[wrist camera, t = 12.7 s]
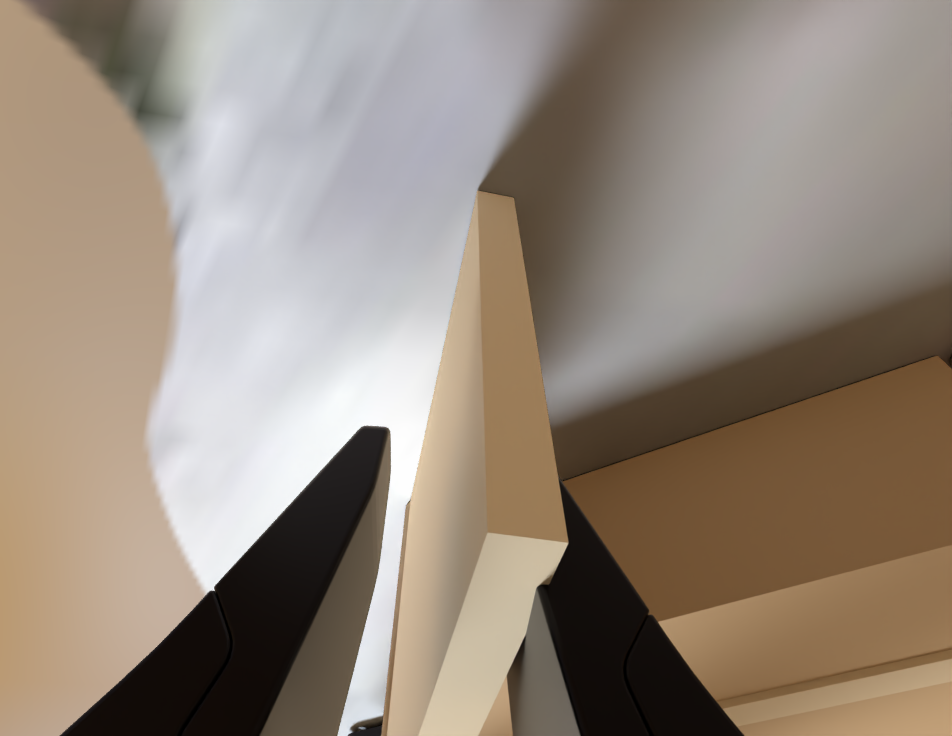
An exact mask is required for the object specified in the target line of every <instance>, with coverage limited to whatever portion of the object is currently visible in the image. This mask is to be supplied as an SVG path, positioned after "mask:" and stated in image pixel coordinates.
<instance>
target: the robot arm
mask: <svg viewBox="0 0 952 736" xmlns="http://www.w3.org/2000/svg"><path fill="white" fill-rule="evenodd" d="M390 473H391V441H390V430H389V429H388V428H387V427H379V426H363V427H361V428H360V429H359V430H358V431H357V432H356V433H355V434H354V435H353V436H352V438H351V439H350V440H349V441H348V442H347V443H346V444H345V445H344V446H343V447H342V448H341V449H340V451H339V452H338V453H337V454H336V455H335V456H334V457H333V458H332V459H331V460H330V461H329V463H328V464H327V465H326V466H325V467H324V468H323V469H322V470H321V471H320V472H319V473H318V474H317V476H316V477H315V478H314V479H313V480H312V481H311V482H310V483H309V484H308V485H307V486H306V488H305V489H304V490H303V491H302V492H301V493H300V494H299V495H298V496H297V497H296V498H295V499H294V501H293V502H292V503H291V504H290V505H289V506H288V507H287V508H286V509H285V510H284V511H283V513H282V514H281V515H280V516H279V517H278V518H277V519H276V520H275V521H274V522H273V523H272V524H271V526H270V527H269V528H268V529H267V530H266V531H265V532H264V533H263V534H262V535H261V536H260V537H259V539H258V540H257V541H256V542H255V543H254V544H253V545H252V546H251V547H250V548H249V549H248V551H247V552H246V553H245V554H244V555H243V556H242V557H241V558H240V559H239V560H238V561H237V562H236V564H235V565H234V566H233V567H232V568H231V569H230V570H229V571H228V572H227V573H226V574H225V575H224V577H223V578H222V579H221V580H220V581H219V582H218V583H217V584H216V585H215V587H214V589H215V591H209V592H208V593H207V595H206V596H205V597H204V598H203V599H202V600H201V601H200V602H199V604H198V605H197V606H196V607H195V608H194V609H193V610H192V611H191V612H190V613H189V614H188V615H187V616H186V617H185V618H184V619H183V620H182V621H181V623H179V625H178V626H177V627H176V628H175V629H174V630H173V631H172V632H171V633H170V634H169V635H168V636H167V637H166V638H165V639H164V640H163V641H162V642H161V643H160V644H159V645H158V646H157V647H156V648H155V649H154V650H153V651H152V652H151V653H150V654H149V655H148V656H146V657H145V658H144V659H143V660H142V661H141V662H140V663H139V664H138V665H137V666H136V667H135V668H134V669H133V670H132V671H131V672H129V673H128V674H127V675H126V676H125V677H124V678H123V679H122V680H121V681H120V682H119V683H118V684H117V685H116V686H114V687H113V688H112V689H111V690H110V691H109V692H108V693H107V694H106V695H104V696H103V697H102V698H101V699H100V700H99V701H98V702H97V703H95V704H94V705H93V706H92V707H91V708H90V709H89V710H88V711H87V712H86V713H84V714H83V715H82V716H81V717H80V718H79V719H78V720H77V721H76V722H74V723H73V724H72V725H71V726H70V727H69V728H68V729H67V730H65V731H64V732H63V733H62V734H61V735H60V736H337V734H338V730H339V726H340V722H341V718H342V714H343V710H344V706H345V702H346V699H347V695H348V691H349V687H350V683H351V679H352V675H353V671H354V667H355V663H356V659H357V655H358V651H359V647H360V643H361V639H362V635H363V631H364V627H365V623H366V619H367V615H368V611H369V608H370V604H371V600H372V596H373V592H374V588H375V583H376V579H377V574H378V569H379V563H380V556H381V548H382V540H383V532H384V524H385V516H386V508H387V500H388V491H389V483H390ZM558 479H559V486H560V492H561V498H562V505H563V511H564V517H565V524H566V530H567V536H568V542H569V543H568V545H567V547H566V549H565V552H564V554H563V556H562V558H561V560H560V562H559V564H558V566H557V569H556V571H555V573H554V575H553V577H552V579H551V581H550V584H549V585H548V584H542V585H539V586H538V587H537V588H536V592H535V596H534V600H533V605H532V609H531V614H530V618H529V622H528V627H527V631H526V635H525V637H524V639H523V641H522V643H521V645H520V648H519V650H518V652H517V654H516V656H515V658H514V660H513V663H512V665H511V667H510V669H509V671H508V673H507V675H506V676H507V685H508V694H509V704H510V713H511V722H512V732H513V736H745V735H744V734H743V733H742V732H741V731H740V729H739V728H738V727H737V726H736V725H735V723H734V722H733V721H732V720H731V719H730V717H729V716H728V715H727V714H726V713H725V711H724V710H723V709H722V708H721V706H720V705H719V704H718V703H717V701H716V700H715V699H714V698H713V696H712V695H711V694H710V693H709V691H708V690H707V689H706V688H705V686H704V685H703V684H702V683H701V681H700V680H699V679H698V678H697V676H696V675H695V674H694V673H693V671H692V670H691V668H690V667H689V666H688V664H687V663H686V661H685V660H684V659H683V657H682V656H681V654H680V653H679V652H678V650H677V649H676V647H675V646H674V645H673V643H672V642H671V641H670V639H669V638H668V636H667V635H666V633H665V632H664V630H663V629H662V627H661V626H660V624H659V623H658V621H657V620H656V618H655V617H654V616H653V615H652V614H650V615H648V614H649V609H648V607H647V606H646V604H645V603H644V601H643V600H642V598H641V597H640V595H639V594H638V592H637V591H636V589H635V588H634V586H633V585H632V584H631V582H630V581H629V579H628V578H627V576H626V575H625V573H624V572H623V570H622V569H621V567H620V566H619V564H618V563H617V561H616V560H615V559H614V557H613V556H612V554H611V553H610V551H609V550H608V548H607V547H606V545H605V544H604V542H603V541H602V539H601V538H600V537H599V535H598V534H597V532H596V531H595V529H594V528H593V526H592V525H591V523H590V522H589V520H588V519H587V517H586V516H585V514H584V513H583V512H582V510H581V509H580V507H579V506H578V504H577V503H576V501H575V500H574V498H573V497H572V495H571V494H570V492H569V491H568V489H567V488H566V487H565V485H564V484H563V482H562V481H561V479H560V478H559V476H558ZM381 734H382V726H378V727H374V728H370V729H366V730H362V731H358V732H354V733H351V734H349V735H348V736H381Z"/></svg>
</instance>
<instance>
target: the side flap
mask: <svg viewBox="0 0 952 736" xmlns="http://www.w3.org/2000/svg"><path fill="white" fill-rule="evenodd" d="M568 543H569V542H568V536H567V530H566V524H565V517H564V511H563V505H562V498H561V492H560V486H559V479H558V473H557V467H556V460H555V454H554V448H553V442H552V435H551V429H550V423H549V416H548V410H547V404H546V397H545V391H544V385H543V379H542V372H541V366H540V360H539V353H538V347H537V341H536V334H535V328H534V322H533V316H532V309H531V303H530V297H529V290H528V284H527V278H526V271H525V265H524V259H523V253H522V246H521V240H520V234H519V227H518V221H517V215H516V208H515V202H514V198H512V197H507V196H502V195H497V194H492V193H487V192H482V191H477V194H476V199H475V204H474V208H473V213H472V218H471V222H470V227H469V232H468V236H467V241H466V246H465V250H464V255H463V259H462V264H461V269H460V273H459V278H458V283H457V287H456V292H455V297H454V301H453V306H452V311H451V315H450V320H449V324H448V329H447V334H446V338H445V343H444V348H443V352H442V357H441V362H440V366H439V371H438V376H437V380H436V385H435V389H434V394H433V399H432V403H431V408H430V413H429V417H428V422H427V427H426V431H425V436H424V441H423V445H422V450H421V454H420V459H419V464H418V468H417V473H416V478H415V482H414V487H413V492H412V496H411V501H410V502H409V503H408V504H407V506H406V510H405V519H404V529H403V538H402V547H401V557H400V566H399V575H398V584H397V594H396V603H395V612H394V622H393V631H392V640H391V650H390V659H389V668H388V678H387V687H386V696H385V706H384V715H383V724H382V734H381V736H478V735H479V733H480V731H481V729H482V727H483V724H484V722H485V720H486V718H487V716H488V714H489V712H490V709H491V707H492V705H493V703H494V701H495V699H496V697H497V695H498V692H499V690H500V688H501V686H502V684H503V682H504V680H505V677H506V675H507V673H508V671H509V669H510V667H511V665H512V663H513V660H514V658H515V656H516V654H517V652H518V650H519V648H520V645H521V643H522V641H523V639H524V637H525V635H526V631H527V627H528V622H529V618H530V614H531V609H532V605H533V600H534V596H535V592H536V588H537V587H538V586H539V585H542V584H548V585H549V584H550V581H551V579H552V577H553V575H554V573H555V571H556V569H557V566H558V564H559V562H560V560H561V558H562V556H563V554H564V552H565V549H566V547H567V545H568Z"/></svg>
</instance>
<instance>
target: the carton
mask: <svg viewBox="0 0 952 736" xmlns="http://www.w3.org/2000/svg"><path fill="white" fill-rule="evenodd" d="M563 484H564V485H565V487H566V488H567V489H568V491H569V492H570V494H571V495H572V497H573V498H574V500H575V501H576V503H577V504H578V506H579V507H580V509H581V510H582V512H583V513H584V514H585V516H586V517H587V519H588V520H589V522H590V523H591V525H592V526H593V528H594V529H595V531H596V532H597V534H598V535H599V537H600V538H601V539H602V541H603V542H604V544H605V545H606V547H607V548H608V550H609V551H610V553H611V554H612V556H613V557H614V559H615V560H616V561H617V563H618V564H619V566H620V567H621V569H622V570H623V572H624V573H625V575H626V576H627V578H628V579H629V581H630V582H631V584H632V585H633V586H634V588H635V589H636V591H637V592H638V594H639V595H640V597H641V598H642V600H643V601H644V603H645V604H646V606H647V607H648V609H649V614H648V615H650V614H652V615H653V616H654V617H655V618H656V620H657V621H658V623H659V624H660V626H661V627H662V629H663V630H664V632H665V633H666V635H667V636H668V638H669V639H670V641H671V642H672V643H673V645H674V646H675V647H676V649H677V650H678V652H679V653H680V654H681V656H682V657H683V659H684V660H685V661H686V663H687V664H688V666H689V667H690V668H691V670H692V671H693V673H694V674H695V675H696V676H697V678H698V679H699V680H700V681H701V683H702V684H703V685H704V686H705V688H706V689H707V690H708V691H709V693H710V694H711V695H712V696H713V698H714V699H715V700H716V701H717V703H718V704H719V705H720V706H721V708H722V709H723V710H724V711H725V713H726V714H727V715H728V716H729V717H730V719H731V720H732V721H733V722H734V723H735V725H736V726H737V727H738V728H739V729H740V731H741V732H742V733H743V734H744V735H745V736H952V369H951V368H950V367H949V366H948V365H947V364H946V363H945V362H944V361H943V360H942V359H941V358H940V357H939V356H938V355H937V356H934V357H931V358H928V359H925V360H922V361H919V362H916V363H913V364H910V365H907V366H904V367H901V368H899V369H896V370H893V371H890V372H887V373H884V374H881V375H878V376H875V377H872V378H869V379H866V380H863V381H860V382H857V383H854V384H851V385H848V386H845V387H842V388H839V389H836V390H833V391H830V392H827V393H824V394H821V395H818V396H815V397H812V398H809V399H806V400H803V401H800V402H797V403H794V404H791V405H789V406H786V407H783V408H780V409H777V410H774V411H771V412H768V413H765V414H762V415H759V416H756V417H753V418H750V419H747V420H744V421H741V422H738V423H735V424H732V425H729V426H726V427H723V428H720V429H717V430H714V431H711V432H708V433H705V434H702V435H699V436H696V437H693V438H690V439H687V440H684V441H681V442H678V443H676V444H673V445H670V446H667V447H664V448H661V449H658V450H655V451H652V452H649V453H646V454H643V455H640V456H637V457H634V458H631V459H628V460H625V461H622V462H619V463H616V464H613V465H610V466H607V467H604V468H601V469H598V470H595V471H592V472H589V473H586V474H583V475H580V476H577V477H574V478H571V479H568V480H566V481H563ZM478 736H513V732H512V722H511V713H510V704H509V694H508V685H507V676H506V677H505V680H504V682H503V684H502V686H501V688H500V690H499V692H498V695H497V697H496V699H495V701H494V703H493V705H492V707H491V709H490V712H489V714H488V716H487V718H486V720H485V722H484V724H483V727H482V729H481V731H480V733H479V735H478Z"/></svg>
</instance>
